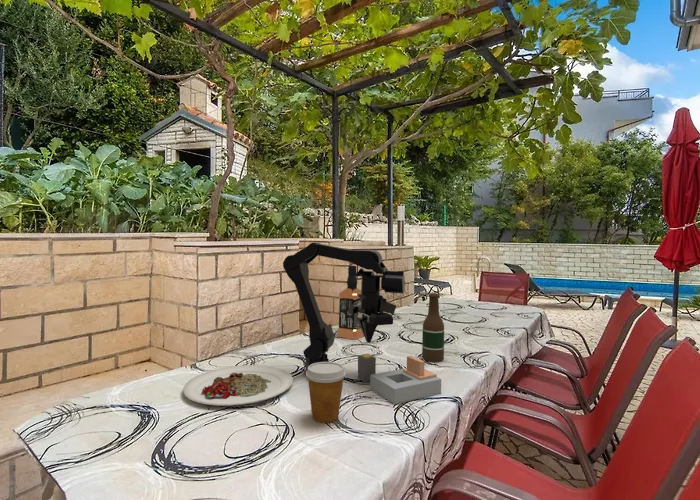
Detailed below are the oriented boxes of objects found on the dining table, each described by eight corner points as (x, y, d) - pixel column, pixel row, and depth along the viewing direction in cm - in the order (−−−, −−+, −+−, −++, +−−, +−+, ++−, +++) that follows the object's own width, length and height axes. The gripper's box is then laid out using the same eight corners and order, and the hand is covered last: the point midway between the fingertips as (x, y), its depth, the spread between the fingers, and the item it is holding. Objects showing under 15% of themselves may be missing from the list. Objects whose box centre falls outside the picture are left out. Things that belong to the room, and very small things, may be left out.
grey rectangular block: (364, 382, 113) (364, 357, 113) (357, 378, 117) (357, 354, 117) (375, 380, 115) (375, 355, 115) (368, 376, 119) (368, 352, 118)
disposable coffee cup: (350, 412, 93) (351, 364, 93) (335, 429, 84) (335, 376, 84) (316, 405, 97) (317, 359, 96) (298, 421, 88) (298, 370, 88)
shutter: (420, 379, 104) (420, 363, 104) (402, 371, 111) (402, 355, 111) (436, 376, 107) (436, 360, 107) (418, 368, 114) (418, 353, 114)
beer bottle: (442, 356, 140) (443, 292, 140) (445, 363, 132) (446, 295, 132) (421, 355, 141) (422, 292, 140) (423, 362, 133) (424, 294, 133)
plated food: (308, 376, 119) (308, 365, 119) (261, 418, 90) (261, 404, 90) (225, 366, 127) (225, 357, 127) (157, 403, 98) (157, 390, 98)
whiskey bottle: (355, 340, 162) (356, 266, 162) (336, 337, 168) (336, 265, 167) (366, 335, 171) (367, 265, 171) (348, 332, 176) (349, 264, 176)
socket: (394, 404, 98) (394, 389, 98) (370, 388, 108) (370, 374, 108) (441, 393, 106) (441, 379, 105) (414, 379, 116) (414, 366, 116)
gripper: (409, 295, 110) (407, 348, 110) (378, 287, 126) (376, 333, 127) (376, 296, 105) (374, 351, 105) (348, 287, 122) (346, 335, 122)
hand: (368, 342), depth 115 cm, fingers closed
